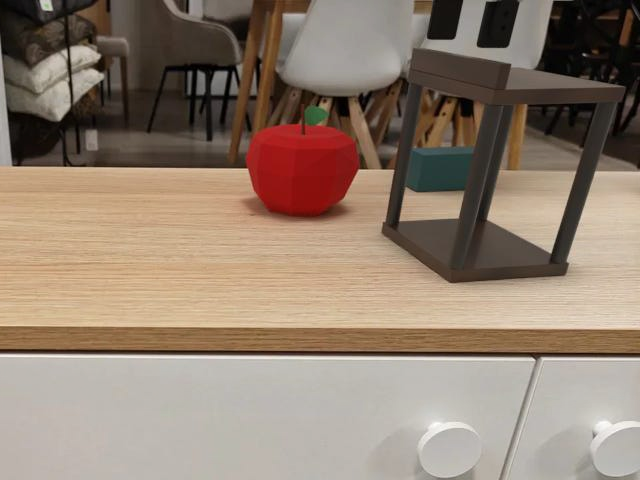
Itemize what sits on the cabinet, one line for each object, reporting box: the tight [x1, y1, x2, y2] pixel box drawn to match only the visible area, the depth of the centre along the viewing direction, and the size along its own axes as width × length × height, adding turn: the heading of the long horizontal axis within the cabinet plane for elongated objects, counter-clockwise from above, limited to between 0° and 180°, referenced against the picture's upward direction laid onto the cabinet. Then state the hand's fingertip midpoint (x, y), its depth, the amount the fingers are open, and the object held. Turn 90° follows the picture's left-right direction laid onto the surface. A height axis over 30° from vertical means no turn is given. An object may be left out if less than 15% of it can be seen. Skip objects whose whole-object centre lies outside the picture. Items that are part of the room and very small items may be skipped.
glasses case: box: [406, 145, 475, 193], centre depth 75 cm, size 8×4×4 cm, turn 99°
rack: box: [380, 47, 627, 283], centre depth 54 cm, size 10×12×16 cm
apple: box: [245, 103, 360, 217], centre depth 67 cm, size 11×11×10 cm
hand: (464, 43), depth 70 cm, fingers open, 9 cm apart
